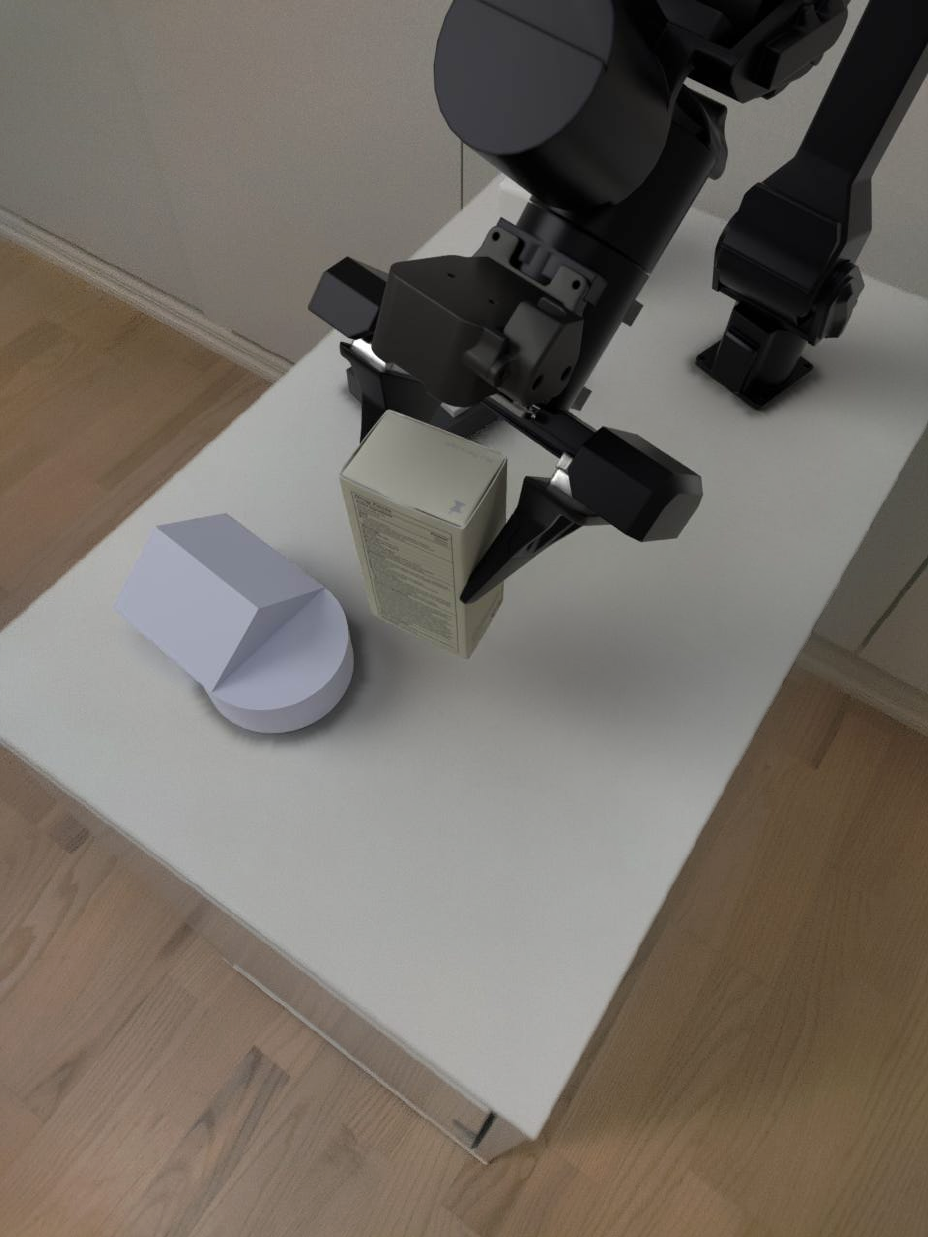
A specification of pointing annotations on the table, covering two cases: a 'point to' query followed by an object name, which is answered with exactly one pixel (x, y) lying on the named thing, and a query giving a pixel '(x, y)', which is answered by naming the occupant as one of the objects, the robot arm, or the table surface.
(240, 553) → the wedge on round base
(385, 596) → the cosmetic box
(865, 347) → the table surface
